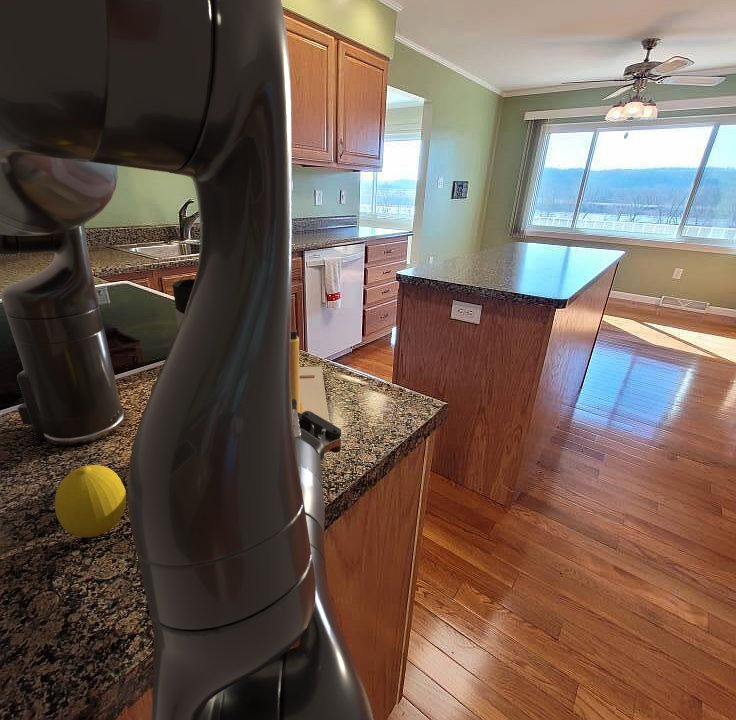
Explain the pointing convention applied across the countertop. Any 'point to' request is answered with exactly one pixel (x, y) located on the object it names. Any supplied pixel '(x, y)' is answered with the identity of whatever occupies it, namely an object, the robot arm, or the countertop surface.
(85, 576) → the countertop surface
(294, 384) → the tap
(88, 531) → the lemon
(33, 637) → the countertop surface
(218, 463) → the robot arm
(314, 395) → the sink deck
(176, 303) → the glass holder
